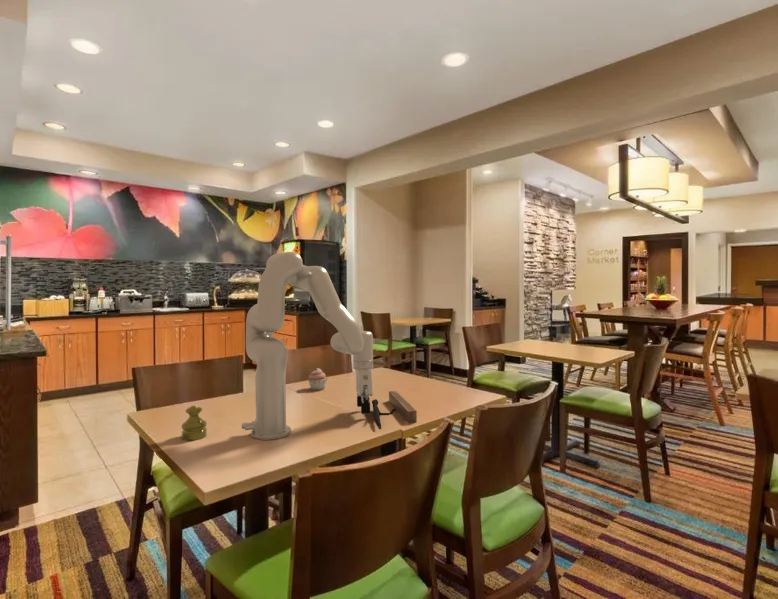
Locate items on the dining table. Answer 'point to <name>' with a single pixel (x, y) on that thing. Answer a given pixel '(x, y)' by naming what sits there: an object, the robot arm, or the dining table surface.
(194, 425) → the olive green tapered piece
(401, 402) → the rail
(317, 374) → the cupcake
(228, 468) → the dining table surface
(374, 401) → the dark humanoid figurine
